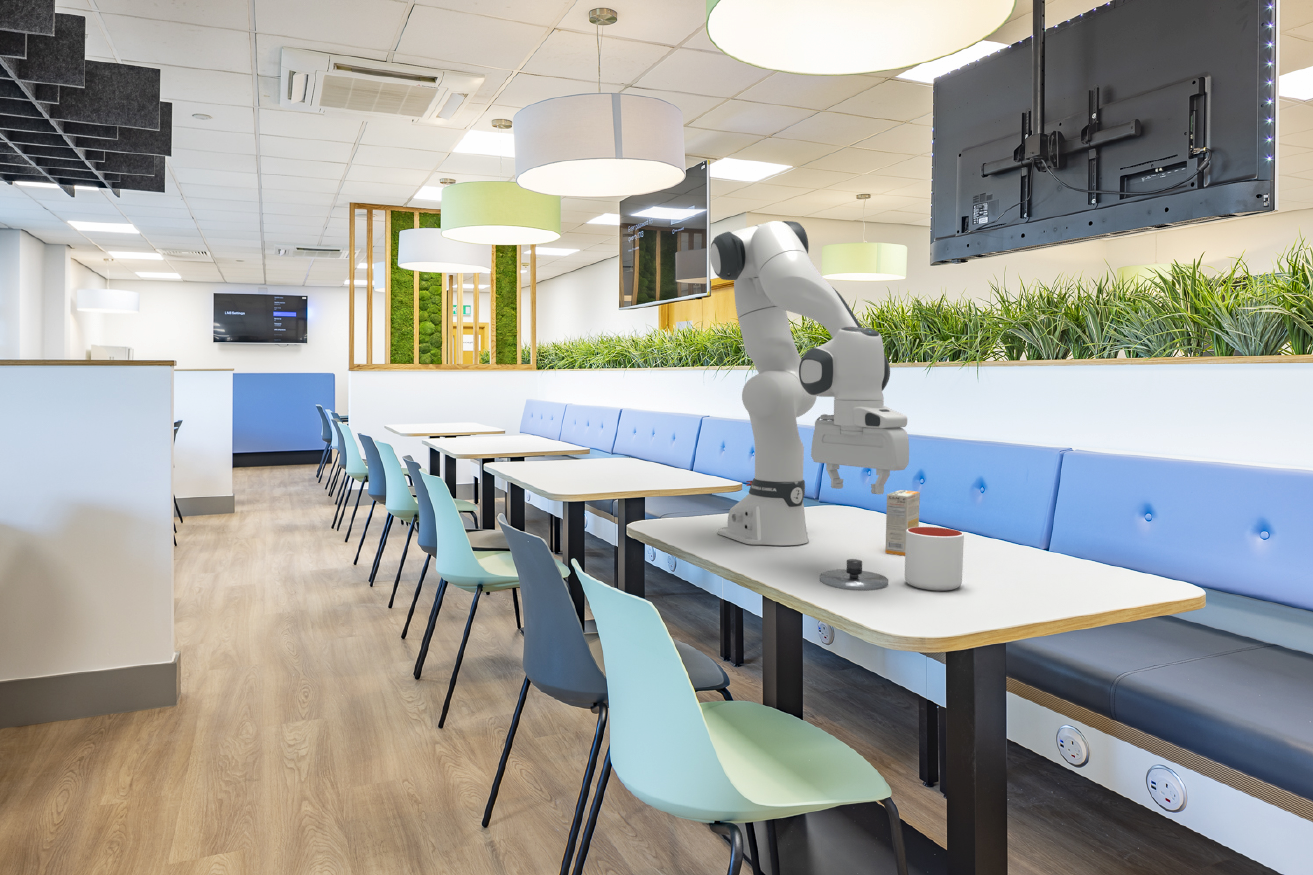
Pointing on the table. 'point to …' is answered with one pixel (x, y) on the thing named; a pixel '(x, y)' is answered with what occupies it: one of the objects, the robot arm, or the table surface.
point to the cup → (934, 558)
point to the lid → (854, 578)
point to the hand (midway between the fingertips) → (856, 491)
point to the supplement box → (900, 519)
